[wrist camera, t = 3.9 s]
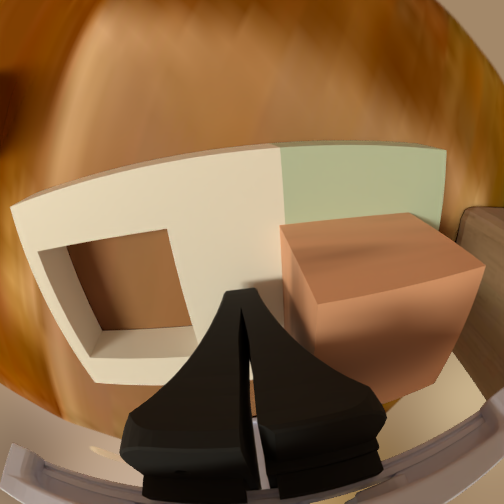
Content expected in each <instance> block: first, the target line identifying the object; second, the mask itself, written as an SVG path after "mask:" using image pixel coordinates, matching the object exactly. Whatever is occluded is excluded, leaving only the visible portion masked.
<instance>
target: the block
mask: <svg viewBox="0 0 504 504" xmlns="http://www.w3.org/2000/svg"><path fill="white" fill-rule="evenodd" d="M279 228H280V244H281V263H282V283H283V306H284V329H285V330H286V331H287V332H288V333H289V334H290V335H291V336H292V337H293V338H294V339H295V340H296V341H297V342H298V343H299V344H300V345H302V346H303V347H304V348H305V349H306V350H308V351H309V352H310V353H311V354H313V355H314V356H315V357H317V358H318V359H320V360H321V361H323V362H324V363H326V364H327V365H328V366H330V367H331V368H333V369H335V370H336V371H338V372H340V373H342V374H343V375H345V376H347V377H349V378H351V379H354V380H356V381H358V382H360V383H362V384H365V385H367V386H369V387H370V388H371V389H372V390H373V392H374V393H375V395H376V396H377V398H378V399H379V401H380V402H381V404H384V403H387V402H389V401H392V400H395V399H398V398H400V397H403V396H405V395H408V394H410V393H412V392H415V391H418V390H420V389H422V388H425V387H427V386H429V385H431V384H434V383H435V381H436V379H437V378H438V376H439V374H440V372H441V371H442V369H443V367H444V365H445V363H446V362H447V359H448V358H449V356H450V354H451V352H452V350H453V348H454V346H455V344H456V342H457V340H458V338H459V336H460V333H461V331H462V329H463V327H464V324H465V322H466V320H467V317H468V315H469V313H470V310H471V308H472V305H473V302H474V300H475V297H476V294H477V291H478V289H479V286H480V283H481V280H482V277H483V273H484V270H485V267H486V265H485V264H483V263H482V262H481V261H480V260H478V259H477V258H476V257H474V256H473V255H472V254H470V253H469V252H468V251H466V250H465V249H463V248H462V247H461V246H459V245H458V244H456V243H455V242H454V241H452V240H451V239H449V238H448V237H446V236H445V235H443V234H442V233H440V232H439V231H437V230H436V229H434V228H433V227H431V226H430V225H428V224H427V223H425V222H424V221H422V220H420V219H419V218H417V217H416V216H414V215H412V214H411V213H409V212H407V213H395V214H384V215H373V216H362V217H351V218H341V219H332V220H322V221H312V222H303V223H294V224H285V225H279Z"/></svg>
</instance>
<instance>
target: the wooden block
mask: <svg viewBox="0 0 504 504" xmlns="http://www.w3.org/2000/svg"><path fill="white" fill-rule="evenodd" d="M456 244H458V245H459V246H461V247H462V248H463V249H465V250H466V251H468V252H469V253H470V254H472V255H473V256H474V257H476V258H477V259H478V260H480V261H481V262H482V263H483V264H485V265H486V267H485V270H484V273H483V277H482V280H481V283H480V286H479V289H478V291H477V294H476V297H475V300H474V302H473V305H472V308H471V310H470V313H469V315H468V317H467V320H466V322H465V324H464V327H463V329H462V331H461V333H460V336H459V338H458V340H457V342H456V344H455V346H454V348H453V350H452V352H453V353H454V354H455V355H456V357H457V358H458V360H459V361H460V363H461V364H462V365H463V367H464V368H465V370H466V371H467V372H468V374H469V375H470V377H471V378H472V380H473V381H474V382H475V384H476V385H477V387H478V388H479V390H480V391H481V393H482V395H483V396H484V397H485V399H486V401H487V400H488V399H489V398H490V397H491V396H493V395H494V394H495V393H496V392H498V391H499V390H500V389H502V388H503V387H504V208H491V207H471V208H468V209H466V210H465V212H464V214H463V216H462V218H461V223H460V228H459V232H458V237H457V241H456Z"/></svg>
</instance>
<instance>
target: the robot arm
mask: <svg viewBox="0 0 504 504" xmlns="http://www.w3.org/2000/svg"><path fill="white" fill-rule="evenodd" d="M250 364H251V369H252V373H253V383H254V393H255V404H256V414H257V417H256V418H252V413H251V404H250ZM386 419H387V416H386V413H385V410H384V408H383V406H382V404H381V402H380V401H379V399H378V398H377V396H376V395H375V393H374V392H373V390H372V389H371V388H370V387H369V386H367V385H365V384H362V383H360V382H358V381H356V380H354V379H351V378H349V377H347V376H345V375H343V374H342V373H340V372H338V371H336V370H335V369H333V368H331V367H330V366H328V365H327V364H326V363H324V362H323V361H321V360H320V359H318V358H317V357H315V356H314V355H313V354H311V353H310V352H309V351H308V350H306V349H305V348H304V347H303V346H302V345H300V344H299V343H298V342H297V341H296V340H295V339H294V338H293V337H292V336H291V335H290V334H289V333H288V332H287V331H286V330H285V329H284V328H283V327H282V326H281V325H280V323H279V322H278V321H277V320H276V319H275V317H274V316H273V315H272V313H271V312H270V311H269V309H268V308H267V307H266V305H265V303H264V302H263V300H262V299H261V297H260V295H259V293H258V290H257V289H256V288H246V289H238V290H230V291H226V292H225V293H224V294H223V298H222V301H221V303H220V306H219V308H218V311H217V313H216V315H215V317H214V319H213V321H212V323H211V325H210V327H209V329H208V330H207V332H206V334H205V335H204V337H203V339H202V340H201V342H200V344H199V345H198V347H197V348H196V349H195V351H194V352H193V354H192V355H191V356H190V358H189V359H188V360H187V361H186V363H185V364H184V365H183V366H182V367H181V369H180V370H179V371H178V372H177V373H176V374H175V375H174V376H173V377H172V378H171V379H170V380H169V381H168V382H167V383H166V384H165V385H164V386H163V387H162V388H161V389H160V390H159V391H158V392H157V393H156V394H154V395H153V396H152V397H151V398H150V399H148V400H147V401H146V402H144V403H143V404H142V405H140V406H139V407H138V408H136V409H135V410H133V411H132V412H130V413H129V416H128V419H127V422H126V424H125V427H124V431H123V436H122V441H121V446H120V456H121V457H122V459H123V460H124V461H125V462H126V463H128V464H129V465H130V466H132V467H133V468H134V469H136V470H137V471H139V472H140V473H141V474H143V475H144V478H143V487H138V486H132V485H126V484H121V483H117V482H112V481H107V480H103V479H99V478H95V477H92V476H88V475H84V474H81V473H78V472H74V471H71V470H68V469H65V468H63V467H60V466H57V465H54V464H52V463H49V462H47V461H44V459H43V458H41V457H40V456H38V455H37V454H36V453H34V452H32V451H30V450H29V449H27V448H25V447H22V446H20V445H18V444H16V443H12V445H11V448H10V451H9V454H8V457H7V461H6V464H5V467H4V471H3V475H2V479H1V483H0V488H1V489H2V490H3V491H4V492H6V493H7V494H9V495H10V496H12V497H14V498H15V499H16V500H18V501H20V502H21V503H23V504H310V503H313V502H317V501H321V500H325V499H330V498H334V497H337V496H341V495H344V494H348V493H351V492H355V491H357V490H360V489H364V488H367V487H370V486H372V485H374V486H372V487H370V488H367V489H365V490H363V491H360V492H358V493H357V494H356V495H355V497H354V498H353V499H351V500H349V501H347V502H345V504H446V503H448V502H449V501H451V500H452V499H454V498H455V497H457V496H458V495H459V494H461V493H462V492H463V491H465V490H466V489H467V488H469V487H470V486H471V485H473V484H474V483H475V482H476V481H478V480H479V479H480V478H481V477H483V476H484V475H485V474H486V473H487V472H488V471H490V470H491V469H492V468H493V467H494V466H495V465H496V464H497V463H498V462H499V461H500V460H501V459H503V457H504V387H503V388H502V389H500V390H499V391H498V392H496V393H495V394H494V395H493V396H491V397H490V398H489V399H488V400H487V401H486V402H485V403H484V405H483V406H482V407H481V408H480V410H479V411H478V412H476V413H475V414H473V415H472V416H470V417H469V418H467V419H466V420H464V421H462V422H461V423H460V424H458V425H456V426H454V427H453V428H451V429H449V430H447V431H445V432H444V433H442V434H440V435H438V436H437V437H434V438H433V439H431V440H429V441H427V442H425V443H423V444H421V445H419V446H417V447H415V448H412V449H410V450H408V451H406V452H403V453H401V454H399V455H396V456H394V457H392V458H389V459H387V460H384V461H381V460H380V457H379V455H378V452H377V450H378V449H379V444H378V442H377V439H376V436H377V435H378V433H379V432H380V430H381V429H382V427H383V426H384V424H385V421H386ZM380 482H381V483H380ZM378 483H379V484H378ZM375 484H377V485H375Z"/></svg>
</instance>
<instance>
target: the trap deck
mask: <svg viewBox="0 0 504 504" xmlns="http://www.w3.org/2000/svg"><path fill="white" fill-rule="evenodd" d="M445 172H446V150H443V149H439V148H435V147H431V146H426V145H422V144H417V143H405V142H389V141H359V140H330V141H299V142H282V143H269V144H257V145H247V146H238V147H229V148H221V149H214V150H207V151H200V152H194V153H188V154H182V155H176V156H171V157H165V158H160V159H155V160H151V161H146V162H141V163H137V164H132V165H128V166H124V167H120V168H116V169H112V170H108V171H104V172H100V173H97V174H93V175H90V176H86V177H83V178H79V179H76V180H73V181H70V182H66V183H63V184H60V185H57V186H54V187H51V188H48V189H46V190H43V191H40V192H37V193H35V194H33V195H31V196H29V197H27V198H26V199H24V200H22V201H20V202H18V203H16V204H14V205H13V206H11V207H10V208H11V212H12V215H13V219H14V222H15V225H16V229H17V232H18V235H19V238H20V241H21V244H22V246H23V249H24V252H25V255H26V257H27V260H28V262H29V265H30V267H31V270H32V272H33V274H34V277H35V279H36V281H37V284H38V286H39V288H40V290H41V292H42V294H43V297H44V299H45V301H46V303H47V305H48V307H49V309H50V311H51V312H52V314H53V316H54V318H55V320H56V322H57V324H58V325H59V327H60V329H61V331H62V332H63V334H64V336H65V338H66V339H67V341H68V343H69V344H70V346H71V347H72V349H73V351H74V352H75V354H76V355H77V357H78V358H79V360H80V361H81V363H82V364H83V366H84V367H85V369H86V370H87V372H88V373H89V374H90V376H91V377H92V379H93V380H94V381H95V383H107V384H125V385H165V384H166V383H167V382H168V381H169V380H170V379H171V378H172V377H173V376H174V375H175V374H176V373H177V372H178V371H179V370H180V369H181V367H182V366H183V365H184V364H185V363H186V361H187V360H188V359H189V358H190V356H191V355H192V354H193V352H194V351H195V349H196V348H197V347H198V345H199V344H200V342H201V340H202V339H203V337H204V335H205V334H206V332H207V330H208V329H209V327H210V325H211V323H212V321H213V319H214V317H215V315H216V313H217V311H218V308H219V306H220V303H221V301H222V298H223V294H224V293H225V292H226V291H230V290H238V289H246V288H256V289H257V290H258V293H259V295H260V297H261V299H262V300H263V302H264V303H265V305H266V307H267V308H268V309H269V311H270V312H271V313H272V315H273V316H274V317H275V319H276V320H277V321H278V322H279V323H280V325H281V326H282V327H283V328H284V306H283V283H282V263H281V244H280V228H279V225H285V224H294V223H303V222H312V221H322V220H332V219H341V218H351V217H362V216H373V215H384V214H395V213H407V212H409V213H411V214H412V215H414V216H416V217H417V218H419V219H420V220H422V221H424V222H425V223H427V224H428V225H430V226H431V227H433V228H434V229H436V230H437V231H439V226H440V219H441V212H442V204H443V196H444V185H445ZM161 229H167V230H168V235H169V239H170V244H171V248H172V252H173V256H174V260H175V264H176V268H177V272H178V276H179V280H180V283H181V287H182V291H183V294H184V298H185V301H186V305H187V308H188V312H189V315H190V319H191V322H192V325H193V326H184V327H171V328H155V329H137V330H109V331H102V329H101V327H100V325H99V323H98V321H97V319H96V317H95V315H94V313H93V311H92V309H91V307H90V305H89V302H88V300H87V298H86V296H85V293H84V291H83V289H82V286H81V284H80V282H79V279H78V277H77V274H76V272H75V269H74V267H73V264H72V261H71V259H70V256H69V253H68V250H67V247H66V246H67V245H72V244H78V243H83V242H89V241H94V240H100V239H106V238H111V237H117V236H123V235H129V234H135V233H142V232H148V231H154V230H161ZM252 379H253V373H252V369H251V364H250V380H252Z"/></svg>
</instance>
